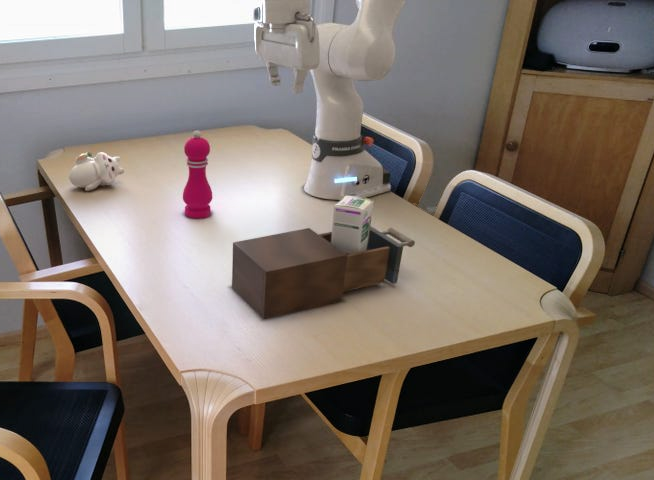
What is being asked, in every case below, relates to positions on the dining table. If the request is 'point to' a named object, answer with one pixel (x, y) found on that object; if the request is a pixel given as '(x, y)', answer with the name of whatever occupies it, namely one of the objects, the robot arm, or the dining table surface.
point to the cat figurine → (94, 171)
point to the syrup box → (352, 224)
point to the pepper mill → (197, 178)
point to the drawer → (375, 259)
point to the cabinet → (288, 272)
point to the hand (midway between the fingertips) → (285, 89)
